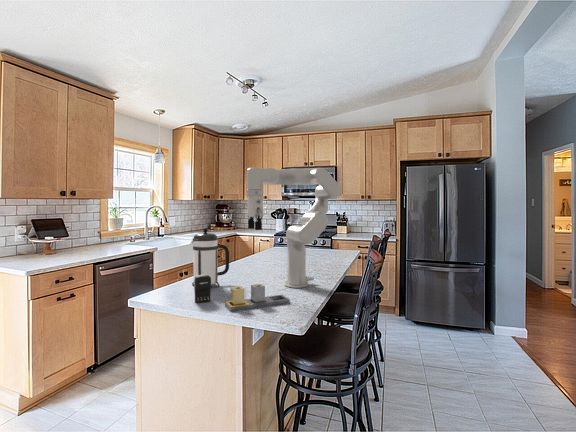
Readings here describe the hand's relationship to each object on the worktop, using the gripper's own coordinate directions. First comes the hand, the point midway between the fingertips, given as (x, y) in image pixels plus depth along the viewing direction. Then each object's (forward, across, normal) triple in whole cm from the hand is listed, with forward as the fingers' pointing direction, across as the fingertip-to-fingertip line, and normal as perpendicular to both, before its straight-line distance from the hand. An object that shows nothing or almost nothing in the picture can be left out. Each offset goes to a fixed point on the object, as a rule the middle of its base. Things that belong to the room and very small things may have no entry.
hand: (254, 229), depth 155 cm
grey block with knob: (+30, -20, +6) cm, 37 cm away
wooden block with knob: (+30, -20, +15) cm, 39 cm away
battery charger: (+31, -6, +26) cm, 41 cm away
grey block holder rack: (+30, -20, +6) cm, 37 cm away
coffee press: (+31, +21, +18) cm, 41 cm away
